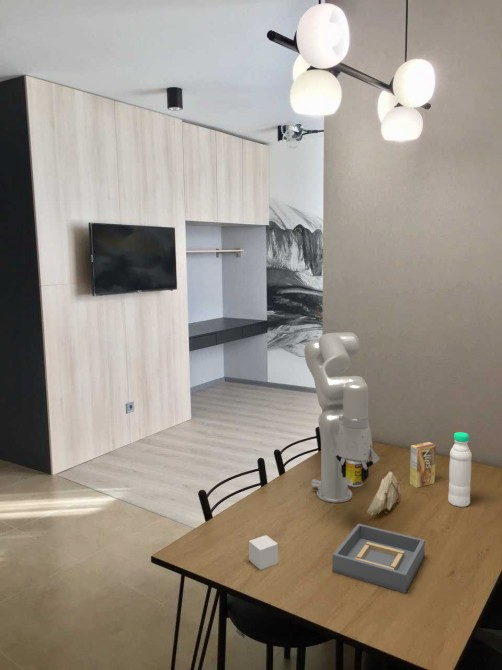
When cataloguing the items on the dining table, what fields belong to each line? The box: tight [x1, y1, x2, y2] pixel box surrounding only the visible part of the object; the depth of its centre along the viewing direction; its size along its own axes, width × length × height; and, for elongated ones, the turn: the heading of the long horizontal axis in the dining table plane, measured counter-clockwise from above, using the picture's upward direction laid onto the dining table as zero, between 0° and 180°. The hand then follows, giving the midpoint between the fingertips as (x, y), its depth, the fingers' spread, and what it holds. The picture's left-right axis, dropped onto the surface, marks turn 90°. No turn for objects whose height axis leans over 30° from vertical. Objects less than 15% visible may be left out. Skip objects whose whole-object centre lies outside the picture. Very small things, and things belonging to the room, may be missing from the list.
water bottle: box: [447, 431, 473, 508], centre depth 188 cm, size 7×7×25 cm
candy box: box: [409, 441, 437, 488], centre depth 205 cm, size 9×4×15 cm, turn 116°
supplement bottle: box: [346, 458, 365, 488], centre depth 171 cm, size 6×6×10 cm
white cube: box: [248, 534, 279, 571], centre depth 156 cm, size 6×6×6 cm
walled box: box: [331, 523, 426, 594], centre depth 154 cm, size 20×20×5 cm
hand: (354, 477), depth 171 cm, fingers closed on supplement bottle, 5 cm apart
